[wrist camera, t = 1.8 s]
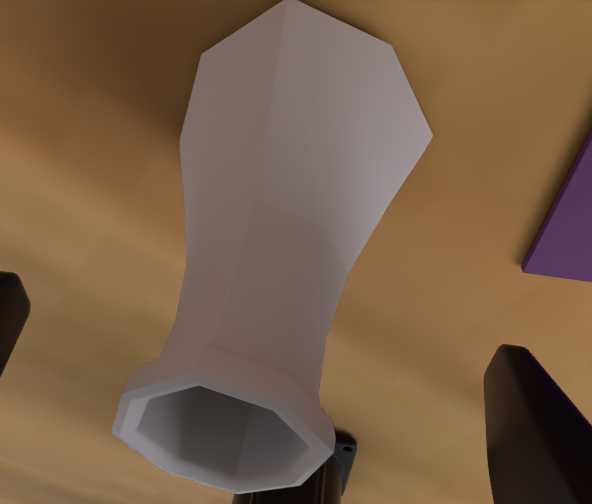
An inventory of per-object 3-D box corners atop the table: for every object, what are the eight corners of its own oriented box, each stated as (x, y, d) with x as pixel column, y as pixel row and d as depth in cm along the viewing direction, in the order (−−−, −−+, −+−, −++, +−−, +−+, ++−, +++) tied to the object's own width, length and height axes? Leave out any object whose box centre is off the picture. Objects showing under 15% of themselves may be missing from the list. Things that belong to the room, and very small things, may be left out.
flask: (285, -67, 11) (93, 109, 4) (478, 130, 14) (598, 478, 6) (144, 136, 15) (-85, 419, 8) (312, 260, 18) (262, 567, 10)
